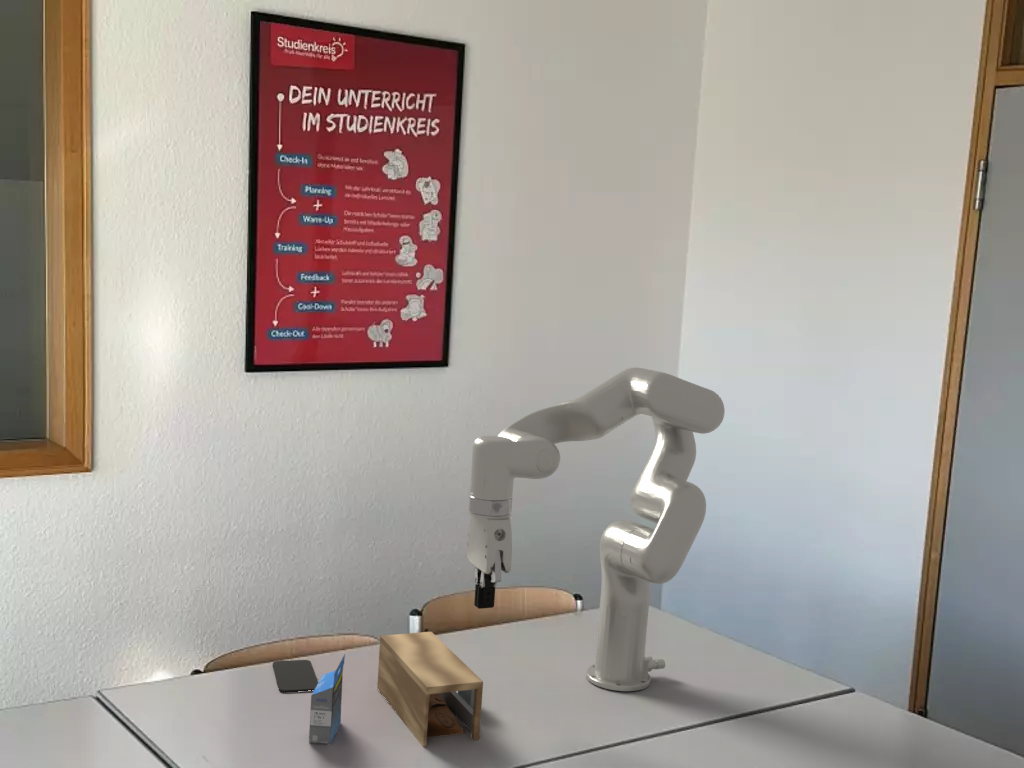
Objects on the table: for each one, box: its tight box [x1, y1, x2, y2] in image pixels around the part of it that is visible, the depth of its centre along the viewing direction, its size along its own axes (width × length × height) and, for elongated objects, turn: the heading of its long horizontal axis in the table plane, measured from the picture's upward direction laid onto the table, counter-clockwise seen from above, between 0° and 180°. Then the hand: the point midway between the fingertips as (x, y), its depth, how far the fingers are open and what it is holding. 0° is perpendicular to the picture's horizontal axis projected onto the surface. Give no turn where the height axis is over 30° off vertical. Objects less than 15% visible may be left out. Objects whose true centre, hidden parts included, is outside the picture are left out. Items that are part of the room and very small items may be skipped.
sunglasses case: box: [427, 693, 465, 738], centre depth 196 cm, size 18×7×7 cm, turn 20°
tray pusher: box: [439, 689, 475, 733], centre depth 199 cm, size 4×20×5 cm, turn 24°
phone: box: [272, 659, 319, 694], centre depth 209 cm, size 7×1×15 cm
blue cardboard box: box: [308, 653, 346, 745], centre depth 185 cm, size 9×4×12 cm, turn 178°
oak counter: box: [376, 631, 484, 748], centre depth 196 cm, size 10×25×10 cm, turn 24°
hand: (484, 606), depth 199 cm, fingers closed
